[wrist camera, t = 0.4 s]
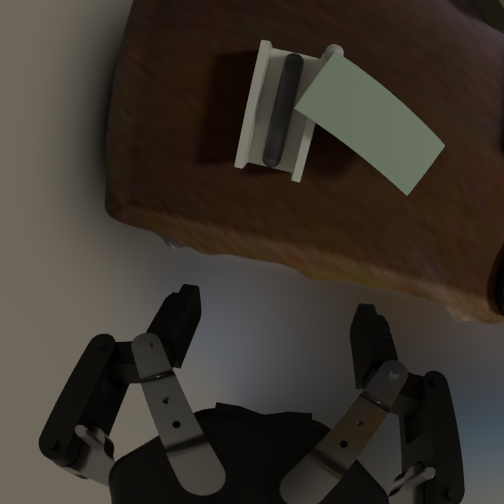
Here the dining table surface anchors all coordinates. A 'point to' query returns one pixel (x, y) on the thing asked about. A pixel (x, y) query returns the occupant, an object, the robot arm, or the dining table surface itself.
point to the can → (492, 12)
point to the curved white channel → (278, 111)
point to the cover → (370, 121)
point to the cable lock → (500, 290)
